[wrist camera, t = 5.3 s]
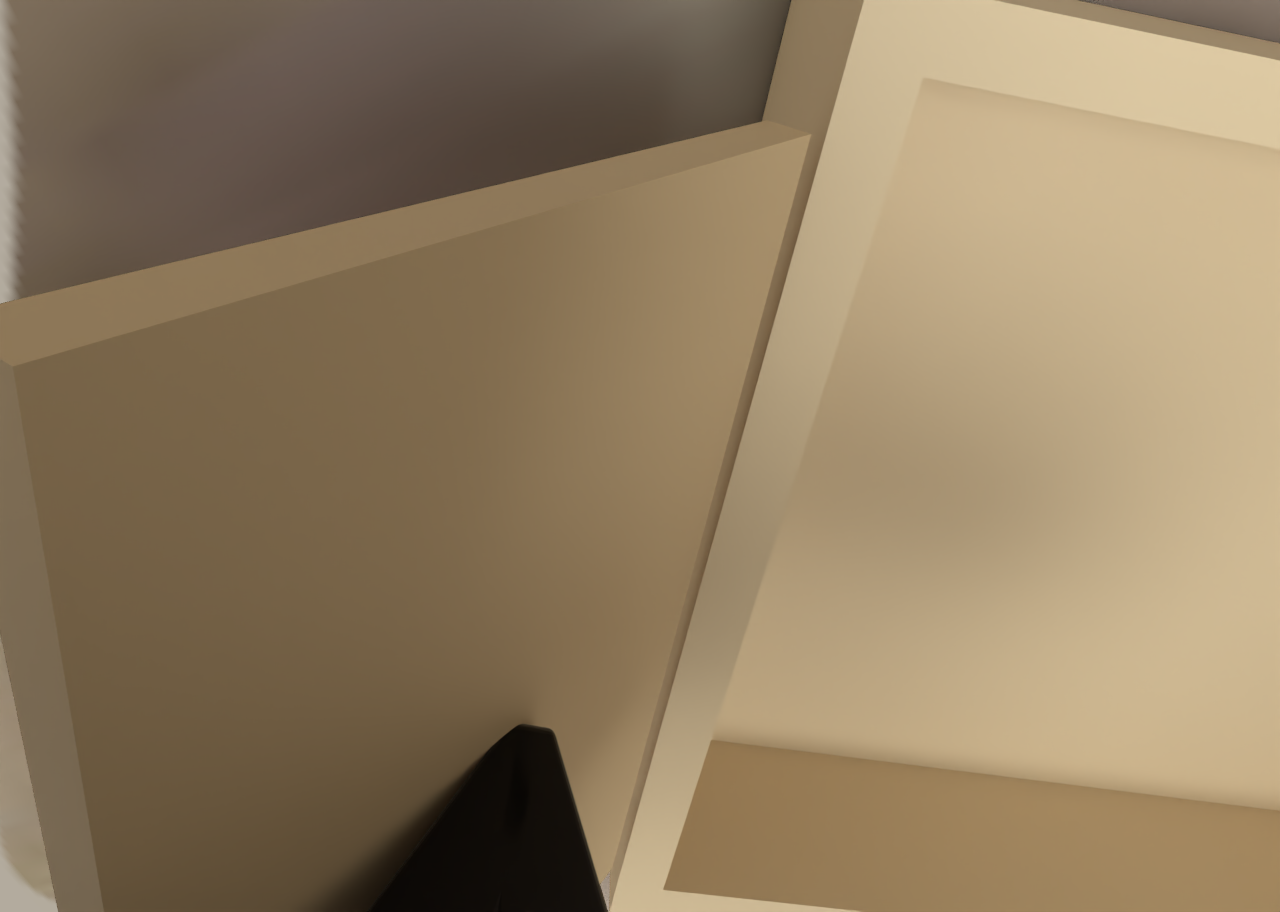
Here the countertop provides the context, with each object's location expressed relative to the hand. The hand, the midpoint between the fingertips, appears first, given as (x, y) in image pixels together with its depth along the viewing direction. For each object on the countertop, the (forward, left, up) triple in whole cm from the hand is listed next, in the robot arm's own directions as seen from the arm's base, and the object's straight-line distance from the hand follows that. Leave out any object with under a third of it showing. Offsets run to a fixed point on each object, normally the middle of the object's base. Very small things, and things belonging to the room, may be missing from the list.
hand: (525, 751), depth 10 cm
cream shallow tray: (-11, 0, -7) cm, 13 cm away
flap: (0, 0, 0) cm, 0 cm away
